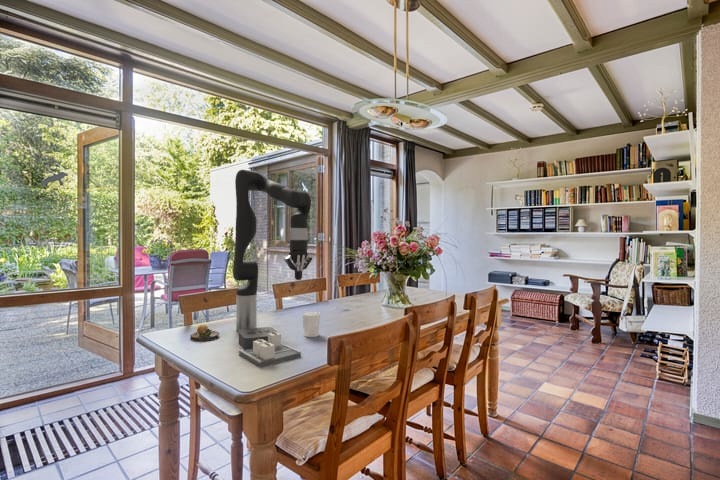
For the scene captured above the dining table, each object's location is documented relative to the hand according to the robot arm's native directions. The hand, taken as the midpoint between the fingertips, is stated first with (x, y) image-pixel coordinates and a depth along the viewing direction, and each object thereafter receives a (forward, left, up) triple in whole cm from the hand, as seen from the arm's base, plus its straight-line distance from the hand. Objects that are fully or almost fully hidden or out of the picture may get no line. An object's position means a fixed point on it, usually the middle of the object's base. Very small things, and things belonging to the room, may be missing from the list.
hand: (298, 279), depth 158 cm
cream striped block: (+12, -21, -25) cm, 35 cm away
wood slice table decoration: (-33, -27, -28) cm, 51 cm away
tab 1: (+7, -21, -25) cm, 34 cm away
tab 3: (+1, -12, -25) cm, 28 cm away
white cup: (-6, +11, -27) cm, 30 cm away
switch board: (+7, -17, -27) cm, 33 cm away
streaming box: (-9, -13, -28) cm, 32 cm away
